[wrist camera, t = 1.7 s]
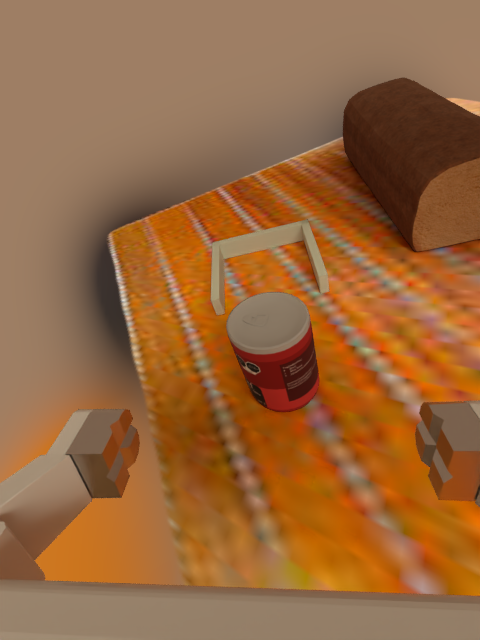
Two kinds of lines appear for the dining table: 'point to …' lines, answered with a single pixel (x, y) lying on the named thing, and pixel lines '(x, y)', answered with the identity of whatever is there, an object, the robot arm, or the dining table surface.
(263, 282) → the dining table surface
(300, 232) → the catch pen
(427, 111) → the bread
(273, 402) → the canned food
